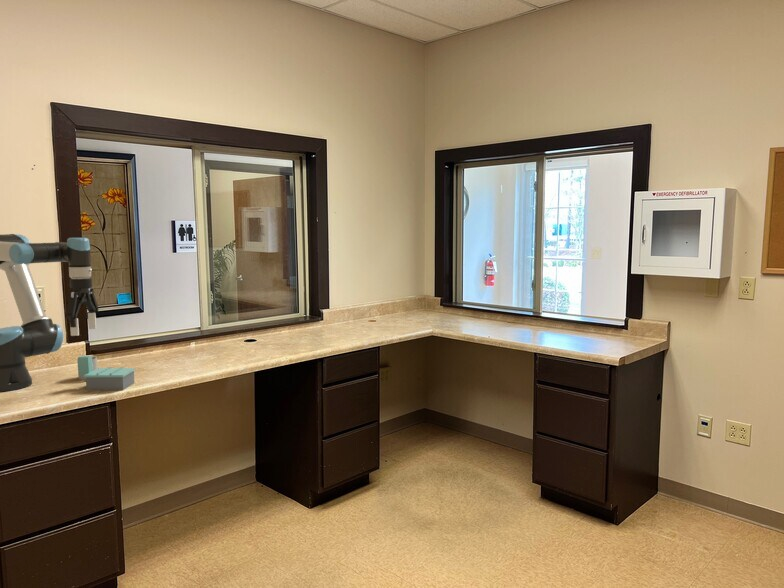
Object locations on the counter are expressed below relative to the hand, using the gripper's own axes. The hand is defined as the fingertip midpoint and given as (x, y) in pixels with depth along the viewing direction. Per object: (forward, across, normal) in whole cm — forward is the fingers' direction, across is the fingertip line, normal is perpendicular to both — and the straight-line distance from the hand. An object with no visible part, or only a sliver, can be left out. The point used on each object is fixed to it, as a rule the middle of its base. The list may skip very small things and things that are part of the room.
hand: (84, 332), depth 220 cm
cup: (+23, +13, +5) cm, 27 cm away
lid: (+17, -1, -7) cm, 18 cm away
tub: (+22, -1, -10) cm, 24 cm away
